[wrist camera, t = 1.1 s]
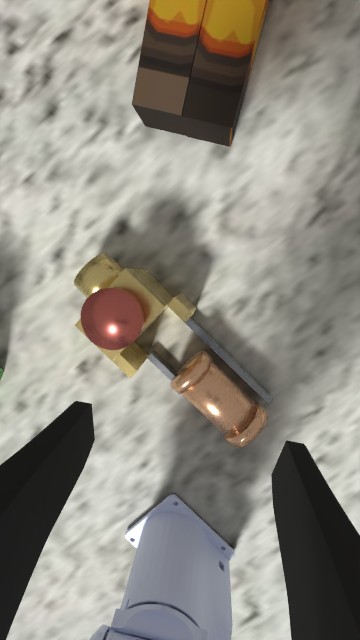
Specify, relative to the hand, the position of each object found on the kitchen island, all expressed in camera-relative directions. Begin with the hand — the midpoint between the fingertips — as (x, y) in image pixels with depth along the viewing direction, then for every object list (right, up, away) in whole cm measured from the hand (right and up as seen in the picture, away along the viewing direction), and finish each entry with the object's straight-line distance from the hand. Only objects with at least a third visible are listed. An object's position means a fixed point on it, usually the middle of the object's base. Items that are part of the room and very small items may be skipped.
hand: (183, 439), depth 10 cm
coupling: (+4, -2, +17) cm, 17 cm away
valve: (-4, +6, +17) cm, 18 cm away
